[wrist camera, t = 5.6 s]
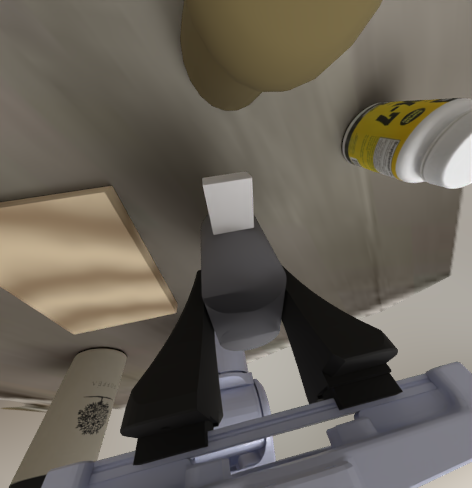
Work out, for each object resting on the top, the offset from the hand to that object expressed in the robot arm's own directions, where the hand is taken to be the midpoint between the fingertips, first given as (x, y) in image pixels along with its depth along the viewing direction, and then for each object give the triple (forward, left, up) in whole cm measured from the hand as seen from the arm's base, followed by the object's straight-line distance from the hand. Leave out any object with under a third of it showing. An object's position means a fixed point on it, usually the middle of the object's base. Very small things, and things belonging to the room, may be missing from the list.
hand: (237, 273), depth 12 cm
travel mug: (-24, +26, -8) cm, 36 cm away
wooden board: (-4, +16, -8) cm, 18 cm away
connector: (+1, 0, -2) cm, 2 cm away
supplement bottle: (+6, -14, -8) cm, 17 cm away
